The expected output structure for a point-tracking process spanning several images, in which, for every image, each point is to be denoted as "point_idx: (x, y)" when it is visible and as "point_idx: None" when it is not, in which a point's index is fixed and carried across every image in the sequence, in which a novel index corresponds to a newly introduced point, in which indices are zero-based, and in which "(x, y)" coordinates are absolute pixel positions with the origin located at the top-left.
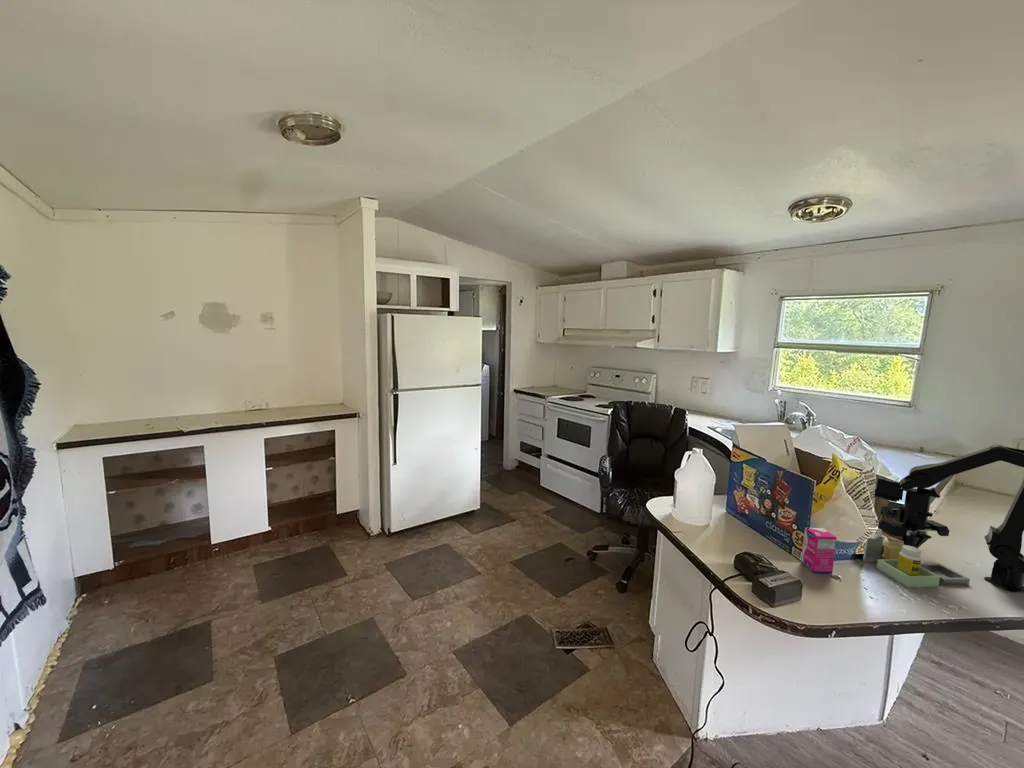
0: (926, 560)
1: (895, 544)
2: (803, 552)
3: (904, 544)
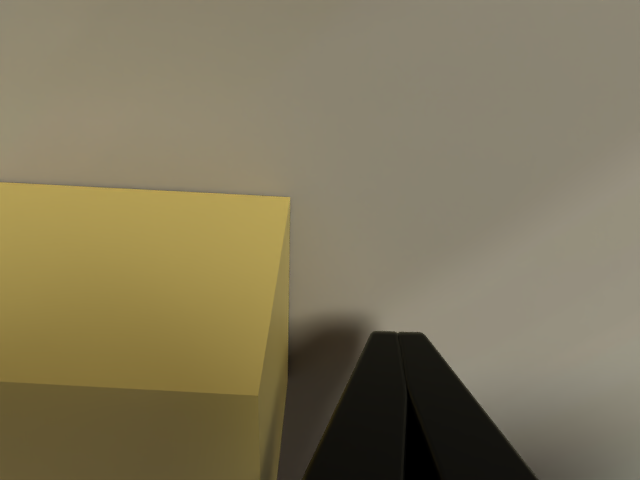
0: (593, 386)
1: (4, 476)
2: None
3: (314, 456)
